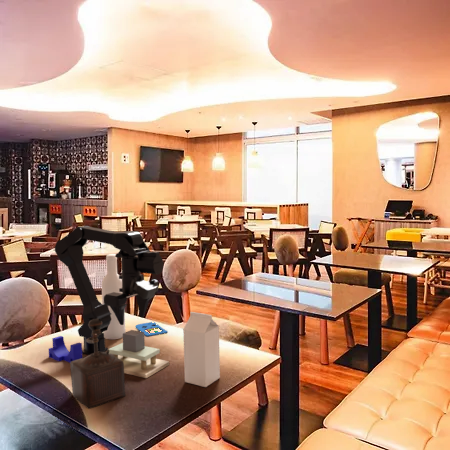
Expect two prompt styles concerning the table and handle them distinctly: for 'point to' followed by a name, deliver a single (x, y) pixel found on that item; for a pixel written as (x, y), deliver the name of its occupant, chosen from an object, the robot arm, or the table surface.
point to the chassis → (142, 366)
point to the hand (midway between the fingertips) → (132, 320)
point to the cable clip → (65, 350)
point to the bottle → (109, 286)
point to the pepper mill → (97, 374)
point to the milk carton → (201, 350)
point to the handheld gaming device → (150, 327)
